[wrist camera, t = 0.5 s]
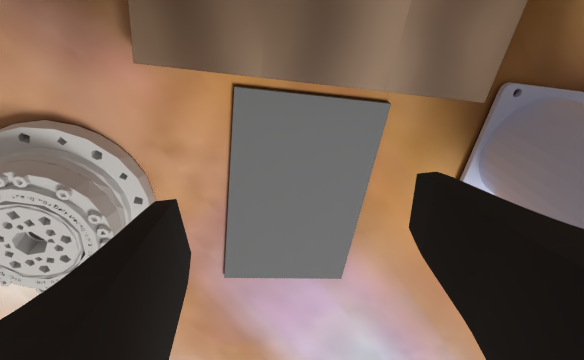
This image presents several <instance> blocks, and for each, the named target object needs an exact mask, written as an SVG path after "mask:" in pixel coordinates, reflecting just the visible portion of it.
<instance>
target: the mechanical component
mask: <svg viewBox="0 0 584 360" xmlns="http://www.w3.org/2000/svg"><path fill="white" fill-rule="evenodd" d="M153 202H155V199H154V194H153V191H152V189H151V186H150V184H149V182H148V179H147V177H146V175H145V173H144V172H143V171H142V170H141V168H140V167H139V166H138V165H137V163H136V162H135V161H134V160H133V158H132V157H131V156H129V155H128V154H127V153H126V152H125V151H124V150H122V149H121V148H120V147H119V146H118V145H116V144H115V143H113V142H111V141H110V140H108V139H106V138H105V137H103V136H101V135H100V134H97V133H95V132H92V131H90V130H87V129H84V128H82V127H79V126H76V125H71V124H65V123H60V122H54V121H49V120H40V121H32V122H24V123H16V124H12V125H10V126H7V127H4V128H2V129H0V285H1V286H8V285H10V284H11V283H13V284H16V285H20V286H24V287H29V288H36V291H37V292H38V293H40V294H41V293H42V292H44V291H45V290H47V289H48V288H49V287H51V286H52V285H54V284H55V283H56V282H58V281H59V280H61V279H62V278H63V277H65V276H66V275H67V274H69V273H70V272H71V271H72V270H74V269H75V268H76V267H77V266H79V265H80V264H81V263H82V262H84V261H85V260H86V259H87V258H89V257H90V256H91V255H92V254H94V253H95V252H96V251H97V250H99V249H100V248H101V247H102V246H104V245H105V244H106V243H107V242H108V241H109V240H110V239H112V238H113V237H114V236H115V235H116V234H117V233H119V232H120V231H121V230H122V229H123V228H124V227H125V226H127V225H128V224H129V223H130V222H131V221H132V220H133V219H134V218H136V217H137V216H138V215H139V214H140V213H141V212H142V211H144V210H145V209H146V208H147V207H148V206H150V205H151V204H152V203H153Z"/></svg>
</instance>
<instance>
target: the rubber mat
mask: <svg viewBox="0 0 584 360" xmlns="http://www.w3.org/2000/svg"><path fill="white" fill-rule="evenodd" d="M390 105H391V104H390V103H389V102H381V101H372V100H362V99H353V98H344V97H335V96H325V95H316V94H307V93H298V92H288V91H279V90H270V89H261V88H251V87H242V86H234V104H233V123H232V142H231V161H230V180H229V199H228V218H227V237H226V256H225V275H224V278H329V279H341V277H342V274H343V270H344V267H345V263H346V260H347V256H348V253H349V249H350V246H351V242H352V239H353V235H354V232H355V228H356V225H357V221H358V218H359V214H360V210H361V207H362V203H363V200H364V196H365V193H366V189H367V186H368V182H369V179H370V175H371V172H372V168H373V165H374V161H375V158H376V154H377V151H378V147H379V144H380V140H381V137H382V133H383V130H384V126H385V123H386V119H387V116H388V112H389V109H390Z"/></svg>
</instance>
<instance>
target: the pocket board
mask: <svg viewBox="0 0 584 360" xmlns="http://www.w3.org/2000/svg"><path fill="white" fill-rule="evenodd" d="M527 1H528V0H128V7H129V18H130V29H131V40H132V52H133V63H137V64H145V65H154V66H163V67H172V68H181V69H189V70H198V71H207V72H216V73H225V74H233V75H242V76H251V77H260V78H268V79H277V80H286V81H295V82H304V83H312V84H321V85H330V86H339V87H347V88H356V89H365V90H374V91H383V92H391V93H400V94H409V95H418V96H427V97H435V98H444V99H453V100H462V101H470V102H479V103H485V101H486V98H487V96H488V93H489V91H490V89H491V86H492V84H493V82H494V79H495V77H496V74H497V72H498V70H499V67H500V65H501V63H502V60H503V58H504V56H505V53H506V51H507V48H508V46H509V44H510V41H511V39H512V37H513V34H514V32H515V29H516V27H517V25H518V22H519V20H520V18H521V15H522V13H523V11H524V8H525V6H526V3H527Z"/></svg>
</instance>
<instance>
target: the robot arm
mask: <svg viewBox="0 0 584 360" xmlns="http://www.w3.org/2000/svg"><path fill="white" fill-rule="evenodd" d="M515 90H517V92H516V94H515V95H513V94H514V92H515ZM409 229H410V231H411V234H412V236H413V238H414V240H415V242H416V245H417V247H418V249H419V251H420V253H421V255H422V256H423V258H424V259H425V261H426V263H427V264H428V266H429V267H430V269H431V270H432V272H433V273H434V275H435V277H436V278H437V280H438V281H439V283H440V284H441V286H442V287H443V289H444V290H445V292H446V293H447V295H448V296H449V298H450V299H451V301H452V302H453V304H454V305H455V307H456V308H457V310H458V311H459V313H460V314H461V316H462V317H463V319H464V320H465V322H466V324H467V325H468V327H469V329H470V330H471V332H472V334H473V336H474V337H475V339H476V341H477V343H478V345H479V347H480V349H481V351H482V353H483V354H484V356H485V358H486V360H584V92H582V91H574V90H566V89H558V88H551V87H543V86H535V85H527V84H519V83H512V82H508V83H505V84H503V85H502V86H501V87H500V89H499V91H498V93H497V95H496V98H495V100H494V102H493V105H492V107H491V109H490V112H489V114H488V116H487V118H486V121H485V123H484V125H483V128H482V130H481V132H480V135H479V137H478V139H477V141H476V144H475V146H474V148H473V151H472V153H471V155H470V157H469V160H468V162H467V164H466V167H465V169H464V171H463V174H462V176H461V178H460V180H458V179H455V178H453V177H450V176H448V175H445V174H442V173H439V172H430V173H420V174H417V178H416V184H415V191H414V197H413V204H412V210H411V217H410V223H409ZM190 259H191V251H190V247H189V244H188V240H187V236H186V233H185V229H184V225H183V222H182V218H181V214H180V211H179V207H178V203H177V200H176V199H173V200H164V201H155V202H153V203H152V204H151V205H150V206H148V207H147V208H146V209H145V210H144V211H142V212H141V213H140V214H139V215H138V216H137V217H136V218H134V219H133V220H132V221H131V222H130V223H129V224H128V225H127V226H125V227H124V228H123V229H122V230H121V231H120V232H119V233H117V234H116V235H115V236H114V237H113V238H112V239H110V240H109V241H108V242H107V243H106V244H105V245H104V246H102V247H101V248H100V249H99V250H97V251H96V252H95V253H94V254H92V255H91V256H90V257H89V258H87V259H86V260H85V261H84V262H82V263H81V264H80V265H79V266H77V267H76V268H75V269H74V270H72V271H71V272H70V273H69V274H67V275H66V276H65V277H63V278H62V279H61V280H59V281H58V282H56V283H55V284H54V285H52V286H51V287H49V288H48V289H47V290H45V291H44V292H42V293H41V294H39V295H38V296H36V297H35V298H33V299H32V300H31V301H29V302H28V303H26V304H25V305H23V306H22V307H20V308H19V309H17V310H16V311H14V312H12V313H11V314H9V315H7V316H6V317H4V318H2V319H1V320H0V360H169V356H170V352H171V349H172V345H173V341H174V337H175V333H176V329H177V325H178V321H179V317H180V313H181V309H182V305H183V301H184V297H185V293H186V289H187V285H188V277H189V269H190Z"/></svg>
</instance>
